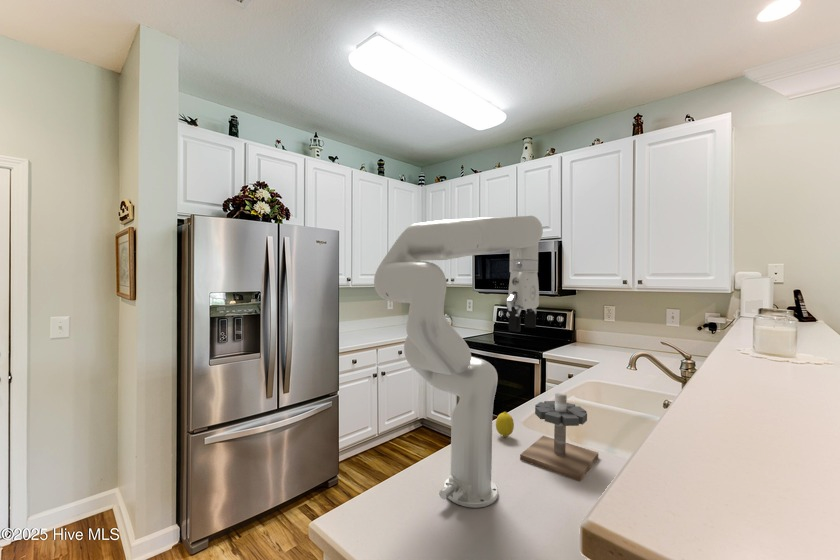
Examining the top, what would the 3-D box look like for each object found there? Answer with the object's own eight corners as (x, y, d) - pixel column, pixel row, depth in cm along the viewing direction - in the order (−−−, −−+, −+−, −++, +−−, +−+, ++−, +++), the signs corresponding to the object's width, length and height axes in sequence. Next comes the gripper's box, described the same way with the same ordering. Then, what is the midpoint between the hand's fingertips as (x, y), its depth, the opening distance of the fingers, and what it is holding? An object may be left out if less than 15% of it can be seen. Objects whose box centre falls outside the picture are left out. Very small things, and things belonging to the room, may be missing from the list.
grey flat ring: (576, 430, 93) (577, 422, 93) (528, 416, 102) (528, 409, 102) (592, 415, 103) (592, 408, 103) (546, 404, 112) (546, 397, 112)
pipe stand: (580, 481, 91) (581, 409, 91) (520, 459, 102) (521, 395, 102) (598, 457, 104) (599, 394, 103) (542, 440, 114) (544, 382, 114)
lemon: (502, 431, 120) (503, 407, 120) (517, 437, 116) (517, 412, 115) (491, 436, 116) (492, 411, 116) (506, 442, 112) (506, 416, 112)
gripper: (522, 266, 92) (521, 334, 92) (549, 267, 105) (548, 327, 105) (495, 266, 97) (494, 331, 97) (524, 267, 110) (523, 324, 110)
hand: (522, 329), depth 101 cm, fingers open, 9 cm apart
